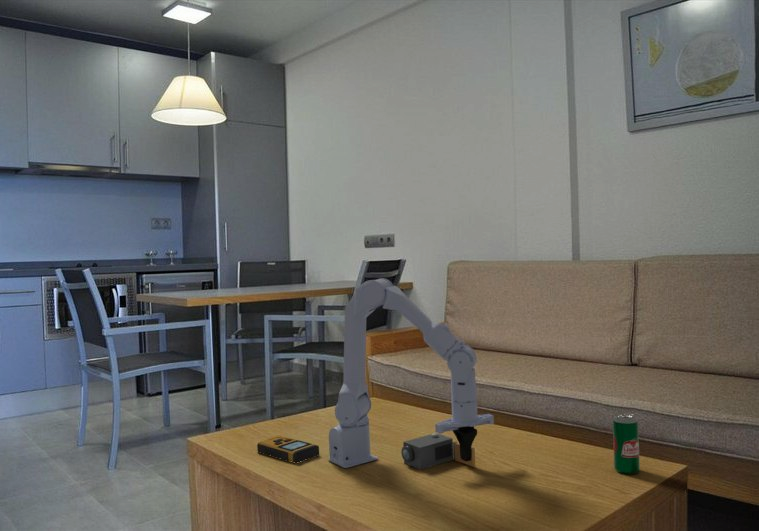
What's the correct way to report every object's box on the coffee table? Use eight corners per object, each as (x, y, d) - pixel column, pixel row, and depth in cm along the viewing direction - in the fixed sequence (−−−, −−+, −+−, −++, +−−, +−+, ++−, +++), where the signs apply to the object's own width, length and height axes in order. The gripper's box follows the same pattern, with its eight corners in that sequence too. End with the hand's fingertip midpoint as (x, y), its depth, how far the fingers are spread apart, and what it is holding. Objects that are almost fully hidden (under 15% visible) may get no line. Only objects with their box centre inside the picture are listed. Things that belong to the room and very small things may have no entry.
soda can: (624, 476, 130) (622, 419, 130) (609, 468, 135) (607, 414, 134) (645, 473, 131) (642, 417, 131) (629, 465, 136) (627, 411, 136)
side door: (475, 466, 140) (475, 447, 140) (472, 467, 139) (471, 448, 139) (455, 458, 145) (455, 441, 145) (452, 459, 145) (451, 442, 145)
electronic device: (281, 446, 164) (280, 433, 164) (320, 456, 153) (320, 443, 153) (255, 454, 158) (254, 441, 158) (294, 466, 147) (293, 451, 147)
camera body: (417, 470, 139) (415, 446, 139) (400, 464, 144) (399, 440, 144) (453, 459, 145) (452, 435, 145) (436, 453, 150) (435, 430, 150)
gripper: (445, 408, 133) (448, 470, 133) (500, 399, 139) (503, 458, 140) (429, 401, 140) (431, 461, 140) (482, 393, 146) (485, 450, 146)
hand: (466, 459), depth 140 cm, fingers closed, pressing on side door
